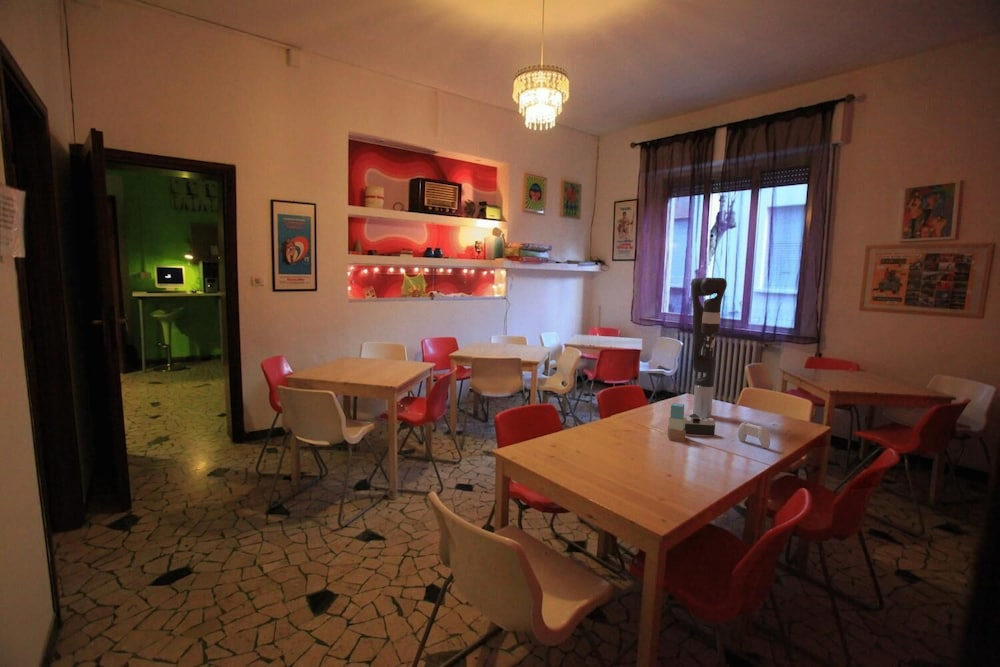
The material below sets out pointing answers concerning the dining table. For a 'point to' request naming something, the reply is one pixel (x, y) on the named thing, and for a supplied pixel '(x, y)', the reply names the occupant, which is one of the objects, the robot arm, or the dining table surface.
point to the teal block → (677, 411)
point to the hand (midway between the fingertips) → (708, 358)
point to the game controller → (754, 433)
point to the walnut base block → (676, 434)
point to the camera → (699, 426)
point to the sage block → (677, 424)
